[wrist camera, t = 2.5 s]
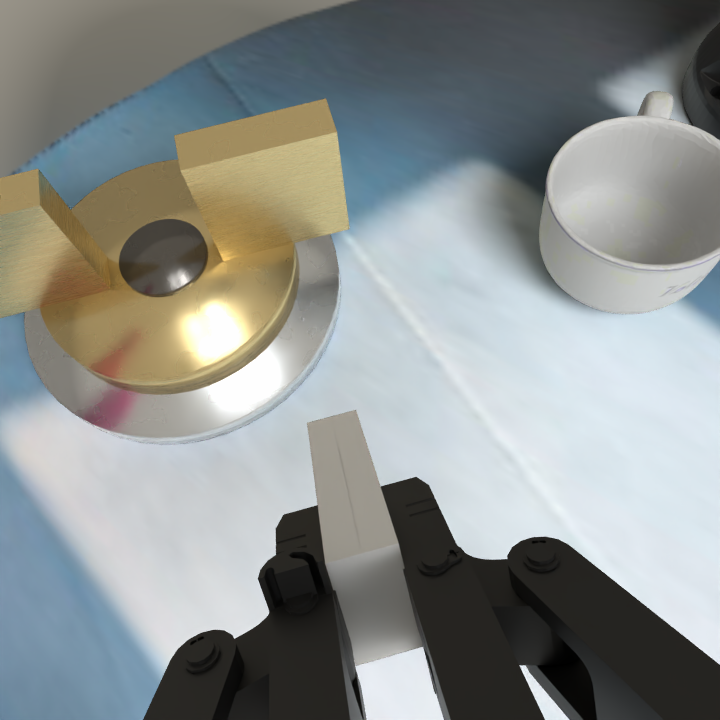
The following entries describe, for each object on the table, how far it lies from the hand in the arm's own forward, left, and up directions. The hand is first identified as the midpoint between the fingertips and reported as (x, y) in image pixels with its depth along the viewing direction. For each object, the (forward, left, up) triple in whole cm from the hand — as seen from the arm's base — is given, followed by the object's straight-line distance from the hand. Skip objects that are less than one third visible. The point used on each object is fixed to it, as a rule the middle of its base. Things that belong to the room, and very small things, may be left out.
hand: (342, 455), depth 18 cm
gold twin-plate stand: (-7, -19, -16) cm, 26 cm away
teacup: (-25, +4, -18) cm, 31 cm away
